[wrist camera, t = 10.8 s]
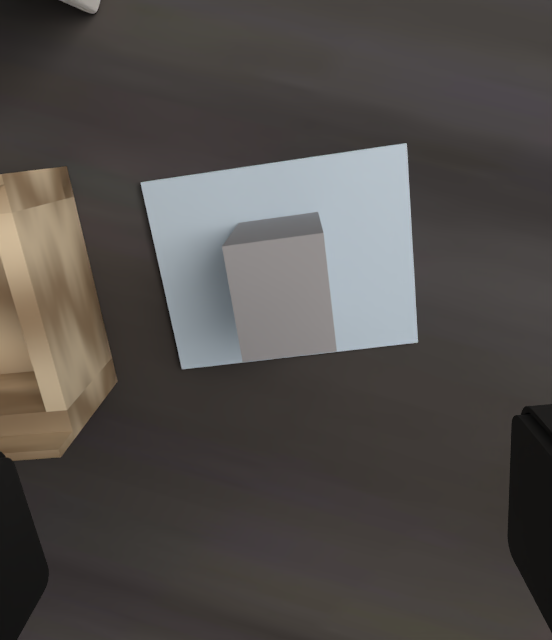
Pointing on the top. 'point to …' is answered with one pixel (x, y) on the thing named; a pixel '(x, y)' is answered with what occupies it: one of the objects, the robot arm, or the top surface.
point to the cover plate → (275, 191)
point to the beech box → (47, 319)
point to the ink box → (84, 5)
